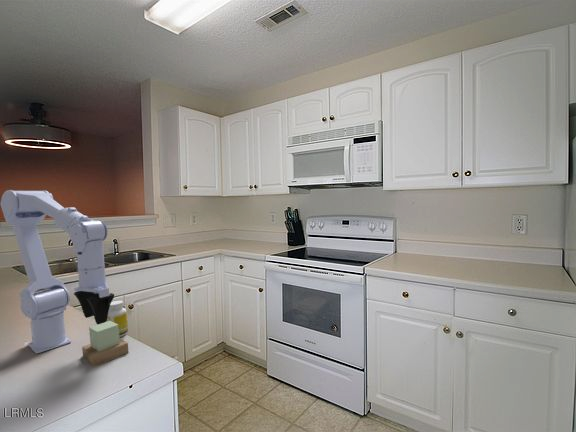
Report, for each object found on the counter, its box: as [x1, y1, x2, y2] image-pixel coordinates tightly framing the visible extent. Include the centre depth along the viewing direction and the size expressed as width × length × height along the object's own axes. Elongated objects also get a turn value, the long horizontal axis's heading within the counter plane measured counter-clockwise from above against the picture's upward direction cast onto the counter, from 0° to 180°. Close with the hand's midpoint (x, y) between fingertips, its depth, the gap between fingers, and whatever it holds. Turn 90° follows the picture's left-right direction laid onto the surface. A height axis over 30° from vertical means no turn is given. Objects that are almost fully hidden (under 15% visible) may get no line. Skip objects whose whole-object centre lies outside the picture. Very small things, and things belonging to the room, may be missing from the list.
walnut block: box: [81, 337, 130, 367], centre depth 79 cm, size 8×8×3 cm
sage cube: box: [88, 321, 120, 351], centre depth 79 cm, size 5×5×5 cm
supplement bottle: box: [106, 300, 129, 338], centre depth 91 cm, size 5×5×10 cm
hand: (95, 319), depth 79 cm, fingers open, 7 cm apart
